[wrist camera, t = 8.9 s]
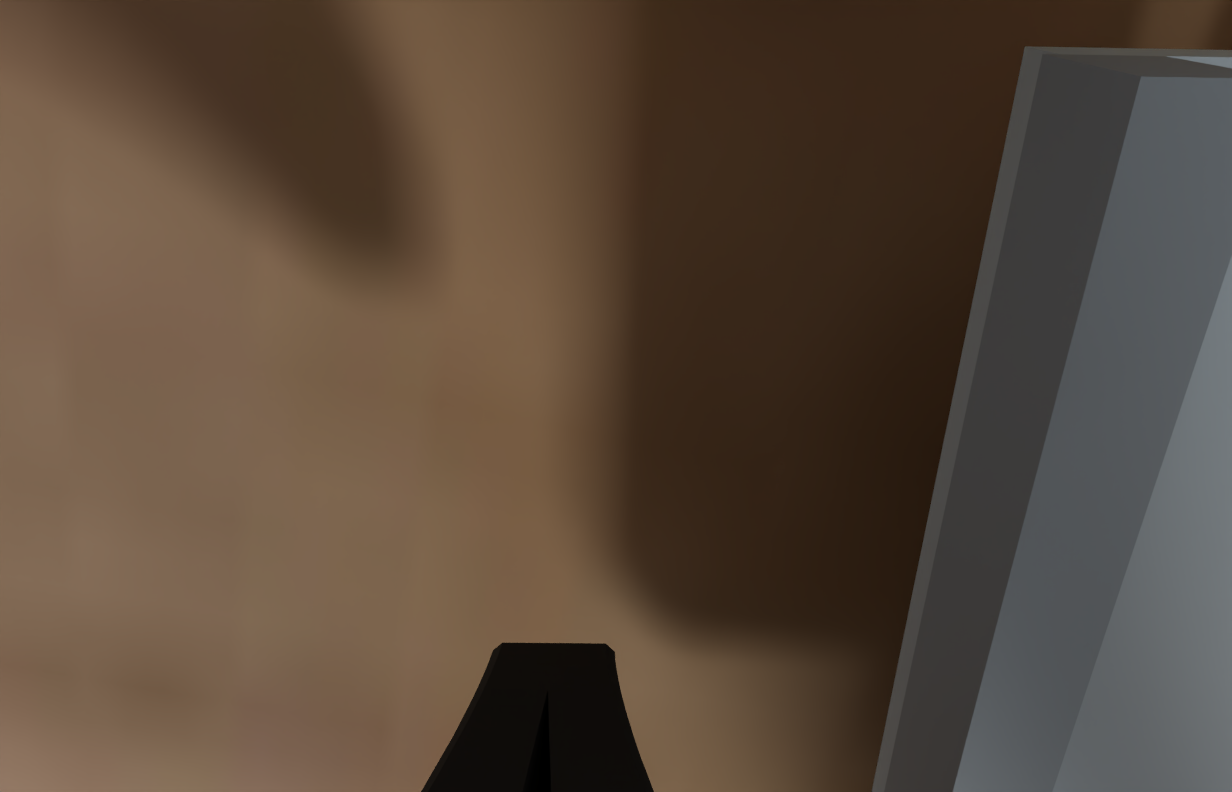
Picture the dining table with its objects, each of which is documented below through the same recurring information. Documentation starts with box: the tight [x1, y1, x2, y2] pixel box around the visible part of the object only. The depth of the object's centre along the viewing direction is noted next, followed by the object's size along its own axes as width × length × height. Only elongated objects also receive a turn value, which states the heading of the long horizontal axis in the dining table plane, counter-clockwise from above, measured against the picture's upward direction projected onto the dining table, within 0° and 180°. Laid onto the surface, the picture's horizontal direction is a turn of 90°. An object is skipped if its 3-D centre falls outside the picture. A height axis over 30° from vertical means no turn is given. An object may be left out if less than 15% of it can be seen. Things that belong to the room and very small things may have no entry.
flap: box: [872, 46, 1232, 792], centre depth 10 cm, size 15×6×2 cm, turn 179°
